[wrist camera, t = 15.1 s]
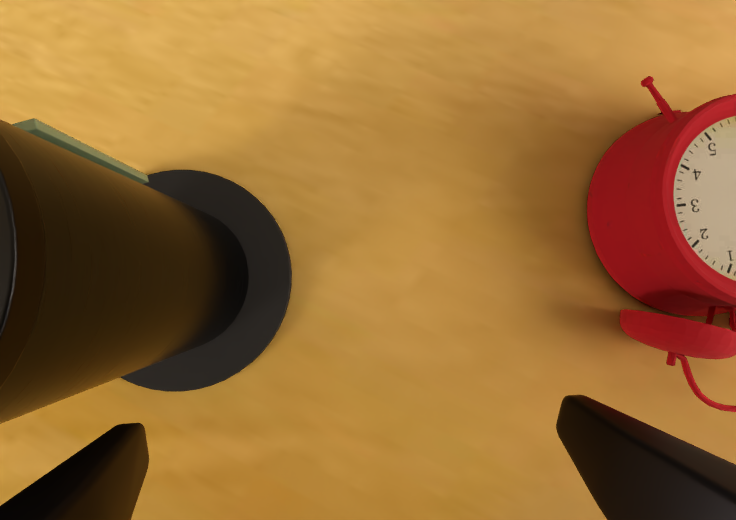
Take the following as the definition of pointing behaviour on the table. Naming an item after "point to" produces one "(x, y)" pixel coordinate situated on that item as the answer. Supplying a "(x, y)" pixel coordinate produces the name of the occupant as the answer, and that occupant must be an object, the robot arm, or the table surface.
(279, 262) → the base
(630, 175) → the alarm clock
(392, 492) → the table surface
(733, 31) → the table surface
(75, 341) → the labeled black canister
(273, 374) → the table surface
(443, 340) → the table surface
